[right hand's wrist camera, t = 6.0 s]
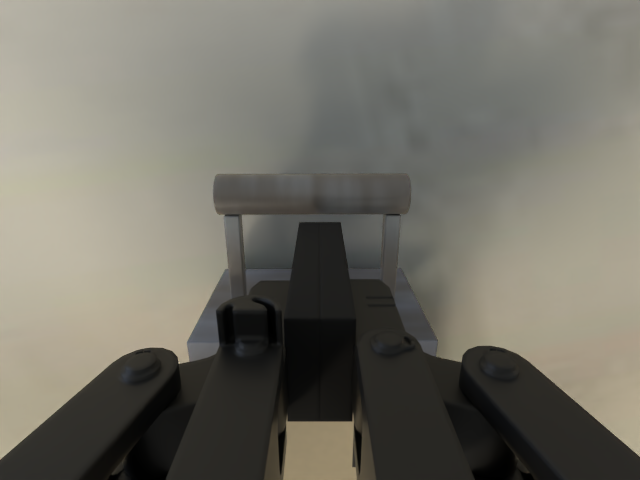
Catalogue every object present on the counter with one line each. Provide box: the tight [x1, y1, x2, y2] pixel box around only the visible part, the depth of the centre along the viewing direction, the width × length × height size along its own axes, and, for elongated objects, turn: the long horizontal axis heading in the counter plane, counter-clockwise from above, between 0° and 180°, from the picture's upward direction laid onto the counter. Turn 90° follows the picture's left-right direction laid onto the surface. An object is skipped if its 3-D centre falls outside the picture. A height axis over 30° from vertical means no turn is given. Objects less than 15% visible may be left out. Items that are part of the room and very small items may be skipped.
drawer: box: [187, 174, 438, 362], centre depth 19 cm, size 25×9×6 cm, turn 0°
